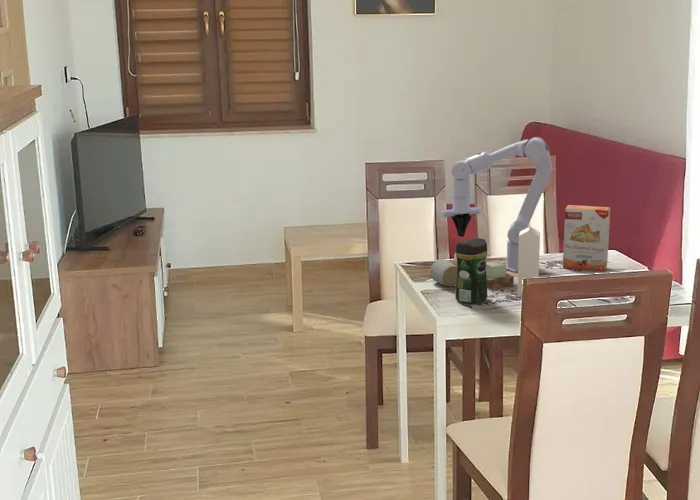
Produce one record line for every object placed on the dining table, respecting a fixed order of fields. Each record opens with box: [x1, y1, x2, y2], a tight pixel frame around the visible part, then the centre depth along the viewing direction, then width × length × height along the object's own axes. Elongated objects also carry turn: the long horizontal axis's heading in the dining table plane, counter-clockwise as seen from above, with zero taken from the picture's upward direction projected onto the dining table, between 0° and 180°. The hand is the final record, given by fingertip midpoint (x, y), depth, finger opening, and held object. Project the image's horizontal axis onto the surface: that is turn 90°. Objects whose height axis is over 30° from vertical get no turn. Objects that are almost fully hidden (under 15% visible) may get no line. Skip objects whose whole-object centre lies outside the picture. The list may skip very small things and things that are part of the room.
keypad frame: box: [446, 259, 515, 290], centre depth 279 cm, size 9×27×3 cm, turn 22°
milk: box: [516, 223, 541, 298], centre depth 256 cm, size 6×6×22 cm
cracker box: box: [562, 204, 611, 272], centre depth 284 cm, size 14×6×21 cm, turn 68°
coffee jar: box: [455, 237, 488, 304], centre depth 253 cm, size 10×8×19 cm
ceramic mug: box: [430, 258, 457, 288], centre depth 271 cm, size 11×8×8 cm
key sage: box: [486, 260, 507, 278], centre depth 269 cm, size 5×5×4 cm
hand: (461, 236), depth 291 cm, fingers closed
